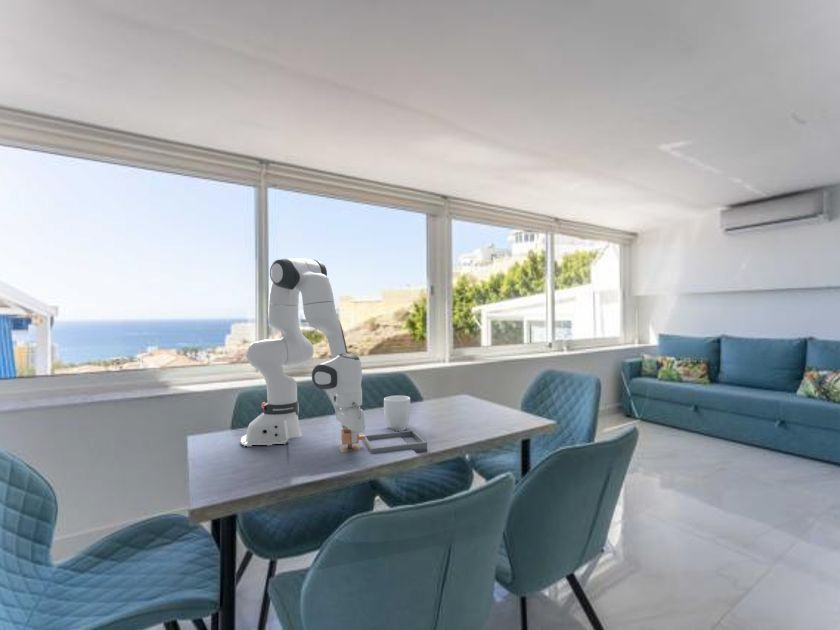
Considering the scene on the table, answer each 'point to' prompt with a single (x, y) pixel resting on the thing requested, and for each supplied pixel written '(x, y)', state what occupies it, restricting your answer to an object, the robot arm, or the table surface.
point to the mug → (397, 412)
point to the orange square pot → (349, 448)
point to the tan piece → (346, 437)
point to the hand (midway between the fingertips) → (349, 438)
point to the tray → (408, 436)
